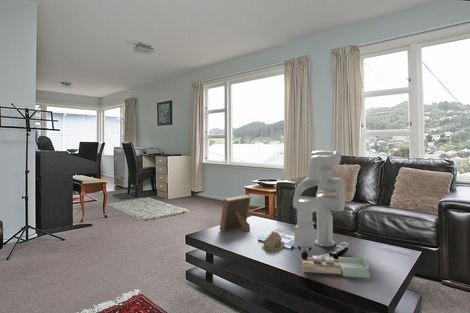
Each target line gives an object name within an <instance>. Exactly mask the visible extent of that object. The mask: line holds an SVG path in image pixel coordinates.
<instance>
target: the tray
mask: <svg viewBox="0 0 470 313" xmlns="http://www.w3.org/2000/svg"><path fill="white" fill-rule="evenodd" d="M338 260H339V264H340V265H341V275H342V276H343V277H348V278H349V277H352V278H365V279H370V278H371V267H370V266H369V265H368V264H367V262H366V261H365V259H364V258H363V257H349V256H348V257H345V256H338Z"/></svg>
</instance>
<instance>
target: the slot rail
mask: <svg viewBox="0 0 470 313" xmlns="http://www.w3.org/2000/svg"><path fill="white" fill-rule="evenodd" d="M321 259H322V264H314V263H313V257H308V258H306V261H305V260H303V258H302V257H301V260H302V261H301V265H302V271H303V273H304V272H305V273H316V274H317V273H321V274H335V275H342V272H341V265H340V264H339V260H338V259H336V258H334V265H329V264H325V259H324V258H321Z"/></svg>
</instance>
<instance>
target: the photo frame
mask: <svg viewBox="0 0 470 313" xmlns="http://www.w3.org/2000/svg"><path fill="white" fill-rule="evenodd" d="M251 199H252V196H250V195H248V194H244V195H242V194H241V195H237V196H231V197H224V198H223V205H222V212H221V217H220V218H221V219H220V223H219V224H220V225H219V231H221V232H222V233H226V232H229V231H233V230H237V229H241V228H242V230H243V232H250V231H251V228H250V227H251V226H250V223H249V222H248V221H247V220H248V215H249V208H250V203H251Z"/></svg>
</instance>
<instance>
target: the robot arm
mask: <svg viewBox="0 0 470 313" xmlns="http://www.w3.org/2000/svg"><path fill="white" fill-rule="evenodd" d="M341 161H342V154H341V153H340V151H338V150H313V151H312V152H311V153H310V158H309V161H308V162H309V163H308V166H307V172H306V178H305V179H303V180H302V181H301V182H299V184H298V185H297V186H296V188H295V191H294V195H293V199H292V206H293V208H294V209H295V210H296V225H295V226H294V237H293V238H294V241H293V248H295V249H298V250H299V251H300V253H301V255H300V256H301V259H302V258H303V260H305V261H306V258H309V256H308V255H309V252H310V251H312V250H315V249H316V245H317V246H319V247H325V248H326V247H333V246H335V245H336V242H335V241H334V240H333V218H334V217H333V214H332V212H331V211H337V212H338V211H339V212H340V211H343V210H344V209H345V206H346V195H345V194H346V186H345V185H346V184H345V180H344V179H343V178H341V177H333V176H332V174H333V173H332V171H334V170H336V169H337V168H338V166H339V165H340V163H341ZM316 186H317V189H318V191H320V193H319V194H316V196H314V197H313V196H304V195H302V194H303V192H305V191H306V190H307V189H310V188H313V187H316ZM321 192H323V193H321ZM330 193H331V194H330ZM332 193H334V194H332ZM313 213H316V222H315V221H313ZM315 225H316V235H315V227H314V226H315ZM315 236H316V237H315ZM304 248H305V249H304Z"/></svg>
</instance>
